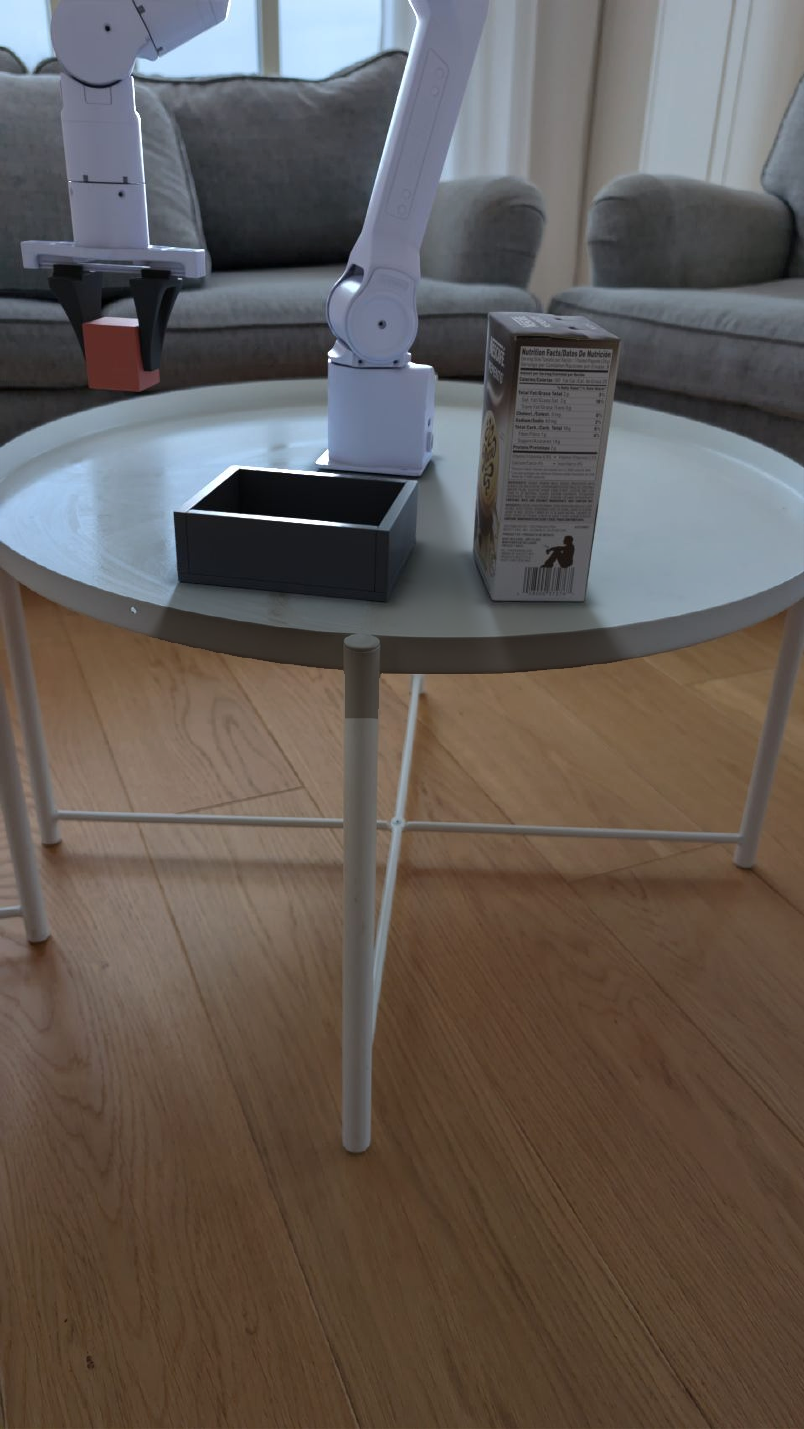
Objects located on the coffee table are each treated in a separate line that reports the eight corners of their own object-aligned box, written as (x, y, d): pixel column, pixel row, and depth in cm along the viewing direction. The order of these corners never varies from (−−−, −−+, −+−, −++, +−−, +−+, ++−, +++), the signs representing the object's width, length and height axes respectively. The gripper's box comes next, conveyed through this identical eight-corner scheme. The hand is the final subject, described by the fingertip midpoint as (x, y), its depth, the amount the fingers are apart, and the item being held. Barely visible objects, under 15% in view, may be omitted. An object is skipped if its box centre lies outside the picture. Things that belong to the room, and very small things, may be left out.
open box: (415, 543, 74) (418, 480, 72) (386, 602, 64) (389, 531, 62) (233, 527, 76) (231, 465, 74) (177, 581, 66) (172, 511, 63)
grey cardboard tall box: (468, 553, 72) (485, 310, 65) (557, 554, 73) (585, 313, 65) (488, 602, 64) (511, 331, 57) (589, 603, 65) (625, 334, 57)
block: (160, 382, 87) (155, 320, 85) (139, 391, 83) (134, 326, 81) (111, 378, 88) (105, 316, 85) (88, 388, 84) (81, 323, 82)
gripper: (-9, 179, 76) (17, 369, 82) (178, 187, 74) (189, 382, 80) (37, 178, 82) (58, 356, 89) (210, 186, 80) (219, 367, 87)
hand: (123, 367), depth 85 cm, fingers closed on block, 4 cm apart
